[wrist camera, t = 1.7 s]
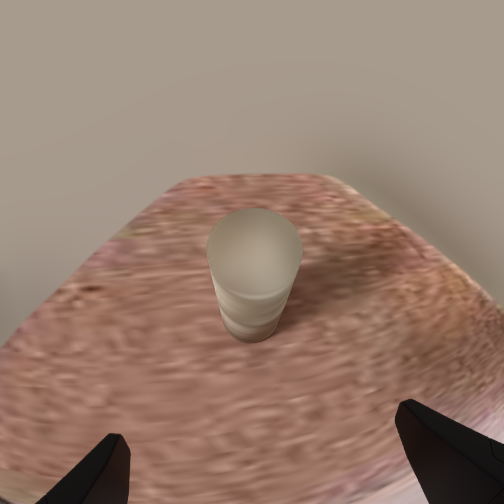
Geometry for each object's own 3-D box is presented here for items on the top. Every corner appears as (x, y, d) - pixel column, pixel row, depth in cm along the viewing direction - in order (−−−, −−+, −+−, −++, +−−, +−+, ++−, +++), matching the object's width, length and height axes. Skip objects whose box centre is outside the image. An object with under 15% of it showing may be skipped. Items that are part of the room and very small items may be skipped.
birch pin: (277, 289, 25) (297, 208, 15) (279, 342, 23) (307, 291, 13) (223, 290, 25) (209, 208, 15) (222, 343, 22) (204, 292, 13)
